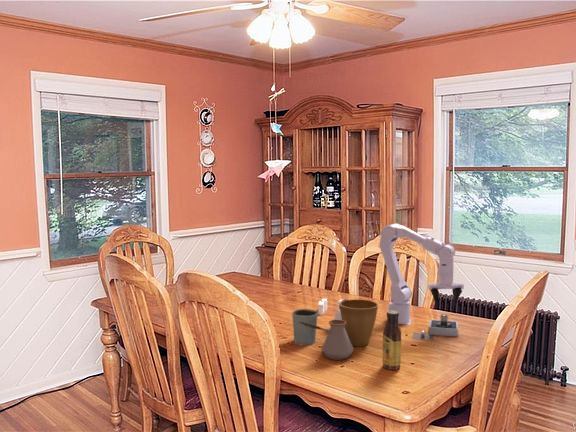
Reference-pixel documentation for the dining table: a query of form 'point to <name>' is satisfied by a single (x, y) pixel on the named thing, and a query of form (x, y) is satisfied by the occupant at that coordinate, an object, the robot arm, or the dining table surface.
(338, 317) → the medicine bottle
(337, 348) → the coffee pot
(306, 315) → the grey cup
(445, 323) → the knob
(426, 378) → the dining table surface
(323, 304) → the napkin holder
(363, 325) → the plant pot
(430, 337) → the stud plate
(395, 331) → the sauce bottle
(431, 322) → the bin
